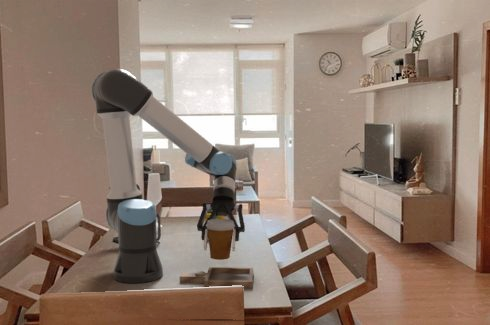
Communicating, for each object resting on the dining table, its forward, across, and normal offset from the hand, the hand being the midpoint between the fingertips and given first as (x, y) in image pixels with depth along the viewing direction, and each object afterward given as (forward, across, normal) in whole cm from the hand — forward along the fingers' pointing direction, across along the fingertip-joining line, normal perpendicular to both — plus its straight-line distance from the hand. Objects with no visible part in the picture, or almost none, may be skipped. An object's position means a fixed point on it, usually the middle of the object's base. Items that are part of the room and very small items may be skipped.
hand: (219, 248), depth 169 cm
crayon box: (-28, +6, -39) cm, 48 cm away
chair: (-22, +37, -34) cm, 54 cm away
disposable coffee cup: (0, 0, -5) cm, 5 cm away
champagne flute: (-42, +35, -53) cm, 76 cm away
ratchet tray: (+12, 0, +2) cm, 12 cm away
